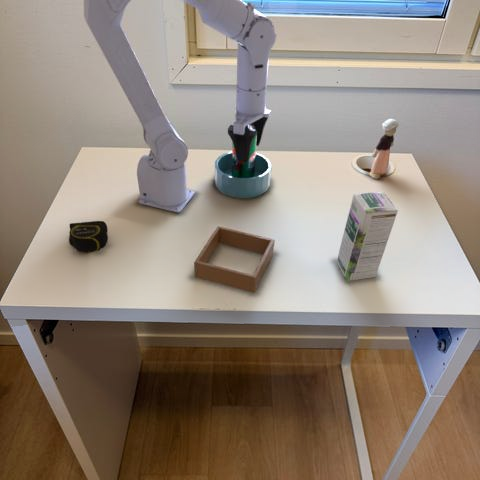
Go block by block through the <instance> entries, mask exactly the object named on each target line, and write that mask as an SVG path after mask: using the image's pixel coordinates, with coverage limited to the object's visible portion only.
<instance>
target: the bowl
mask: <svg viewBox="0 0 480 480" xmlns="http://www.w3.org/2000/svg"><path fill="white" fill-rule="evenodd" d="M271 176H272V163H271V161H270V160H269V158H267V157H266V156H265V155H263V154H261V153H258V152H256V160H255V177H252V178H237V177H232V151H227V152H226V153H223V154H221V155H220V156H218V157H217V158H216V159H215V161H214V185H215V187H216V190H218V191H219V192H221V194H223V195H226V196H229V197H232V198H237V199H251V198H255V197H259V196H261V195H263V194H265V193H266V192H267V191H268V190H269V189H270V185H271V178H272V177H271Z"/></svg>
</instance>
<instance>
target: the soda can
mask: <svg viewBox="0 0 480 480" xmlns="http://www.w3.org/2000/svg"><path fill="white" fill-rule="evenodd" d="M248 128H249V130H252V131H256V130H255V126H253V125H251V124H249V125H248ZM256 143H257V134H256V135H255V137H254V140H253V142H252V146H251V151H250V156H249V160H248V162H247V163H244V162H239V161H238V160H237V156H236V152H235V147H234V144H233V142H232V141H231V152H232V177H237V178H252V177H255V160H256V153H257V146H256Z"/></svg>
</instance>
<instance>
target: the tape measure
mask: <svg viewBox="0 0 480 480" xmlns="http://www.w3.org/2000/svg"><path fill="white" fill-rule="evenodd" d="M68 234H69V236H68V242H69V245H70V246H71V247H73V248H74V250H76V251H77V252H80V253H85V254H86V253H94V252H97V251H100V250H102V249H103V248H105V246H106V245H107V244H108V242H109V241H108V240H109V237H108V236H109V235H108V225H107V222H105V221H104V220H94V221H93V220H92V221H82V222H71V223H69V232H68Z"/></svg>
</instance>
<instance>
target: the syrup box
mask: <svg viewBox="0 0 480 480" xmlns="http://www.w3.org/2000/svg"><path fill="white" fill-rule="evenodd" d="M398 212H399V210H398V209H397V207H395V206H394V204H393V202H392V200H391V199H390V198H389V197H388V196H387V194H386V193H385V192H384V191H366V192H359V193H356V194H353V195H352V199H351V203H350V207H349V211H348V215H347V219H346V222H345V227H344V231H343V234H342V238H341V242H340V245H339V250H338V253H337V257H336V264H337V265H338V267H339V269H340V271H341V273H342V275H343V276H344V278H345V280H346V281H347V282H351V281H358V280H359V281H360V280H365V279H372V278H376V276H377V273H378V271H379V267H380V265H381V263H382V260H383V256H384V253H385V250H386V248H387V244H388V241H389V238H390V236H391V232H392V230H393V226H394V224H395V221H396V218H397V215H398Z"/></svg>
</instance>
